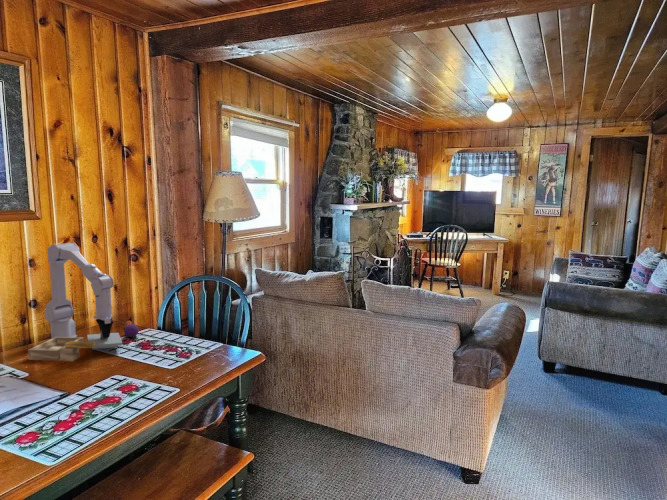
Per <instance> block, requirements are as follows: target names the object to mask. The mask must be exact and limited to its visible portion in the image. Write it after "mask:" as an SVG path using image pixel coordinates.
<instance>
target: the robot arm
mask: <svg viewBox="0 0 667 500" xmlns="http://www.w3.org/2000/svg"><path fill="white" fill-rule="evenodd" d="M47 259H48V263H49V274H50V289H51V300H50V301H48V302H47V304H45V311H44V317H45V319H46V321H47V322H48V323H50V337H51V339H52V338H55V337H78V334H76V322H75V321H74V319H73V318H72V317H73V316H74V313H75V310H74V307H73V304H72V303H73V302H72V301H71V300H70V299H67V290H66V289H67V288H66V274H65V271H66V270H65V264H66V263H67V262H68V261H69V260H70V261H71V262H73V263H74V264H75V265H76V266H77V267H78V268H79V269H80V270H81V274H82V275H83V277H85V279H86V280H87V281H89V282H90V287H91V289H92V291H93V294H94V297H95V298H94V299H95V300H94V301H95V313H96V315H93V316H92V318H93V319H95V321H96V323H97V325H98V328H99V331H100V333H101V331H102V335H103V338H108V337H109V336H110V333H111V330H112V326H113V324H114V320H112V317H113V312H112V311H113V309H112V295H111V294H112V293H111V292H112V291H111V288H113V287H114V279H113V278H112V276H111V275H110V274H106V273H104V272H102V271H101V270H100V269H99V268H98V267H97V265H96V264H93V263H91V264H90V263H89V262H88V261H87V259H86V258H85V257H84V256H83V254H81V252H80V247H79V246H78V245H77V244H76V243H75V242H69V243H68V242H66V243H57V244H56V243H55V244H51V245H49V247H48V248H47Z"/></svg>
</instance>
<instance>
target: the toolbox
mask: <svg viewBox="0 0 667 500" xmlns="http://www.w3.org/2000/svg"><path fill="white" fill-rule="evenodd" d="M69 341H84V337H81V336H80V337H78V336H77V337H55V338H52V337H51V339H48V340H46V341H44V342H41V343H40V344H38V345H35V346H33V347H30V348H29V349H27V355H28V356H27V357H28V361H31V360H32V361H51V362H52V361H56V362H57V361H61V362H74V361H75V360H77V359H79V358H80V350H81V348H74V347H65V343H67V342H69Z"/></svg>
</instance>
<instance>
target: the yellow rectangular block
mask: <svg viewBox="0 0 667 500" xmlns="http://www.w3.org/2000/svg"><path fill="white" fill-rule="evenodd" d="M93 346H95V342H88V340H87V341H86V340H85V341H69V342H67V343H65V347H74V348H80V349H82V348H84V349H91V347H93Z"/></svg>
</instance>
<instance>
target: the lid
mask: <svg viewBox="0 0 667 500" xmlns="http://www.w3.org/2000/svg"><path fill="white" fill-rule="evenodd" d="M86 339H87V341H88V342H95V346H93V347H91V348H92V350H95V349H97V350H98V349H109V348H119V346H123V341H122V338H121V336H120V333H119V332H110V336H109V337H108V338H103V335H102V331H101V332H100V333H94V334H87V335H86ZM91 348H90V349H91Z"/></svg>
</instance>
